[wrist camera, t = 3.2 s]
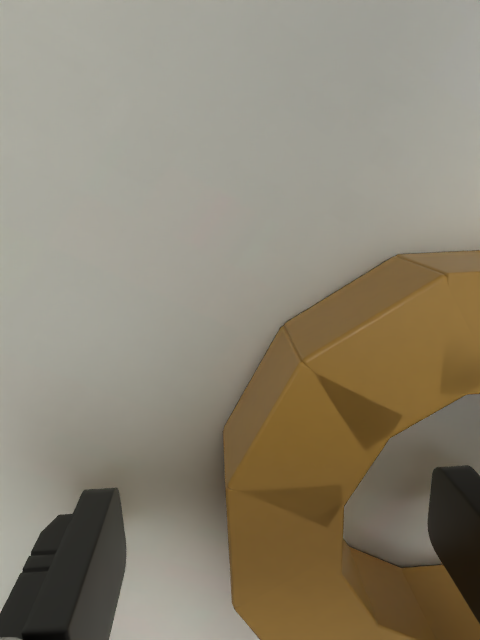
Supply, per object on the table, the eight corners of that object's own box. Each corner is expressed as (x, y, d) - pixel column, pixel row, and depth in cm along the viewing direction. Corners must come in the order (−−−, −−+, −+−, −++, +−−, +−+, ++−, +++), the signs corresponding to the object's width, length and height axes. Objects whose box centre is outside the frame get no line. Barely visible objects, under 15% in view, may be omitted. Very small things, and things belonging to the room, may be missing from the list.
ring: (213, 262, 10) (213, 285, 8) (694, 239, 11) (827, 253, 8) (234, 645, 13) (240, 741, 11) (605, 614, 14) (684, 699, 11)
